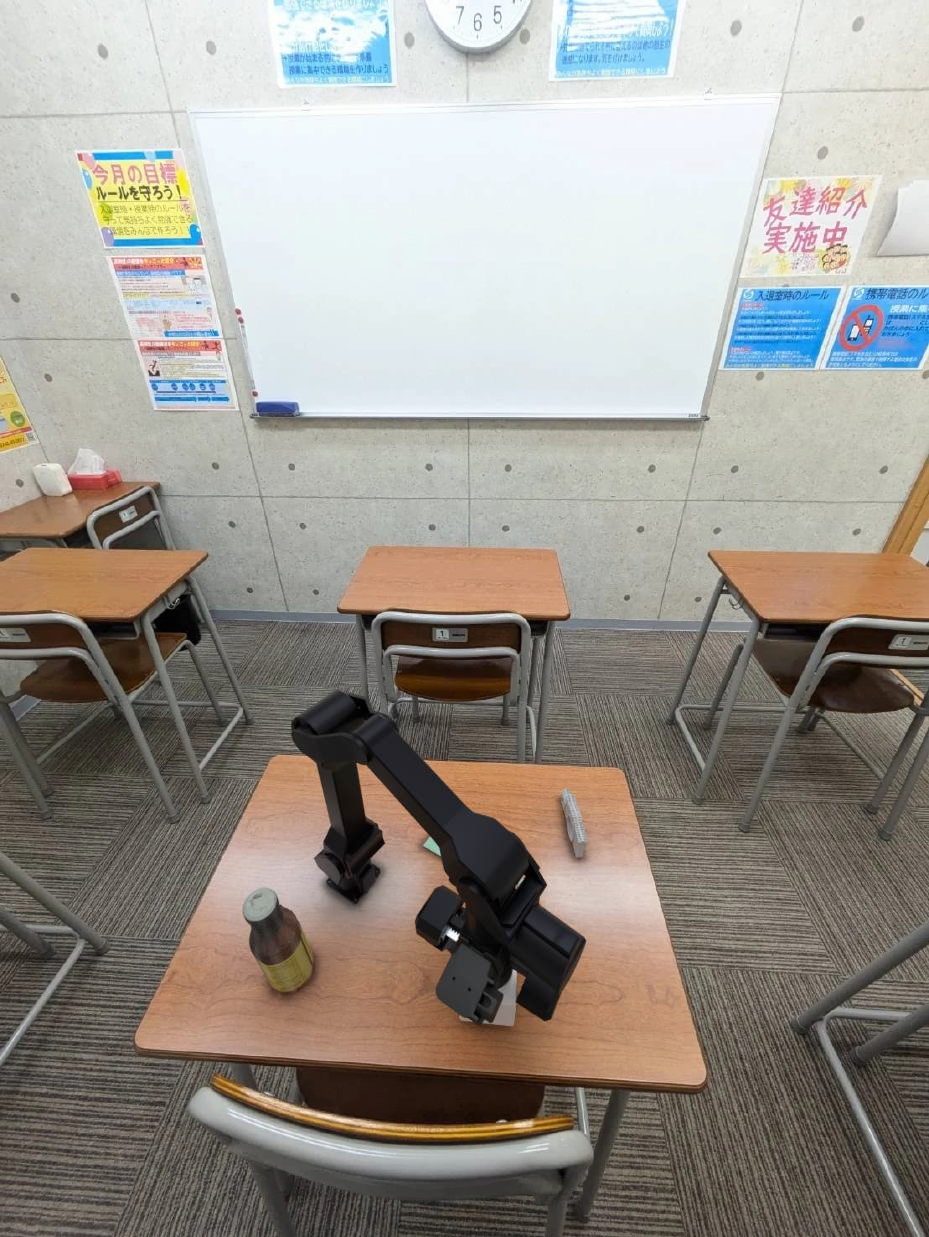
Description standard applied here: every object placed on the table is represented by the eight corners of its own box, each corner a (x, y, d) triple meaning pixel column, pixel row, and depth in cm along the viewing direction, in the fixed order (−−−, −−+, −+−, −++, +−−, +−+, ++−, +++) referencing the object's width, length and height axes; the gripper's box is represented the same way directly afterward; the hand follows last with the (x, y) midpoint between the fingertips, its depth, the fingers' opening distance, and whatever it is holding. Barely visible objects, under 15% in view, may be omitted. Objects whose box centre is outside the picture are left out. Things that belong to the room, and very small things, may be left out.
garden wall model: (559, 799, 96) (562, 778, 93) (569, 799, 97) (572, 778, 93) (574, 860, 86) (578, 839, 83) (585, 859, 87) (589, 838, 83)
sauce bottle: (278, 947, 76) (245, 872, 65) (321, 948, 76) (294, 873, 65) (263, 999, 70) (223, 926, 59) (308, 1000, 70) (276, 928, 59)
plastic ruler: (423, 846, 89) (423, 845, 89) (433, 832, 91) (433, 831, 91) (499, 891, 82) (499, 890, 82) (509, 874, 85) (509, 873, 84)
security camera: (515, 966, 73) (519, 923, 66) (514, 1027, 67) (518, 987, 60) (464, 960, 73) (463, 918, 66) (459, 1021, 67) (457, 981, 61)
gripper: (381, 935, 57) (393, 995, 66) (534, 1044, 49) (525, 1096, 58) (437, 854, 65) (441, 917, 74) (578, 937, 57) (564, 997, 65)
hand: (488, 977), depth 67 cm, fingers closed on security camera, 9 cm apart
